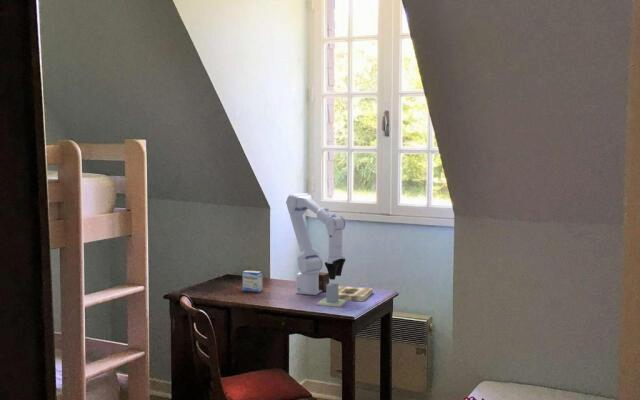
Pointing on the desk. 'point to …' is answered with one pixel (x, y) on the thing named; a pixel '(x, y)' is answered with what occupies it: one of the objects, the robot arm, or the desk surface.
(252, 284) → the medicine box
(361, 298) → the pocket board
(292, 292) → the desk surface
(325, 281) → the box
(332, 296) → the slate block
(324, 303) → the tile
